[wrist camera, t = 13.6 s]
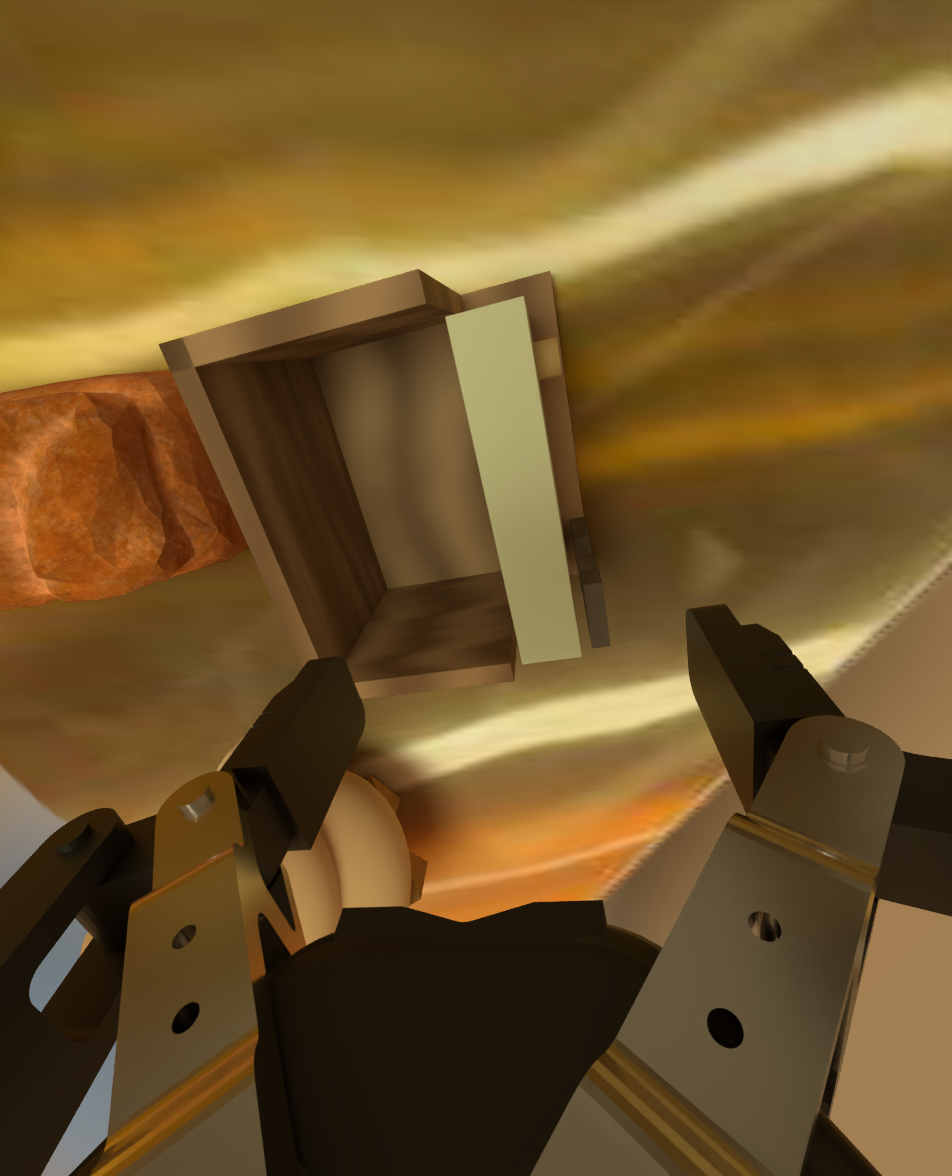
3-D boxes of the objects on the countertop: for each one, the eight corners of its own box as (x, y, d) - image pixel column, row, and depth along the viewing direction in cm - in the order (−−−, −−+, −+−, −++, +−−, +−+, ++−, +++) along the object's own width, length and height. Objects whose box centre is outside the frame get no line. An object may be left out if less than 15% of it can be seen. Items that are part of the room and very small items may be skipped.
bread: (284, 540, 41) (158, 640, 27) (17, 568, 45) (-208, 668, 32) (224, 357, 35) (25, 368, 22) (-77, 410, 40) (-404, 447, 26)
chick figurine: (206, 1336, 20) (32, 1347, 29) (539, 963, 43) (383, 1034, 52) (91, 691, 32) (-6, 840, 42) (395, 670, 55) (291, 769, 64)
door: (547, 309, 30) (556, 287, 18) (582, 548, 37) (606, 653, 25) (481, 326, 31) (445, 316, 19) (526, 557, 38) (522, 664, 25)
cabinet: (549, 273, 31) (558, 228, 18) (589, 564, 39) (615, 669, 27) (295, 343, 34) (158, 344, 22) (382, 597, 42) (318, 704, 30)
